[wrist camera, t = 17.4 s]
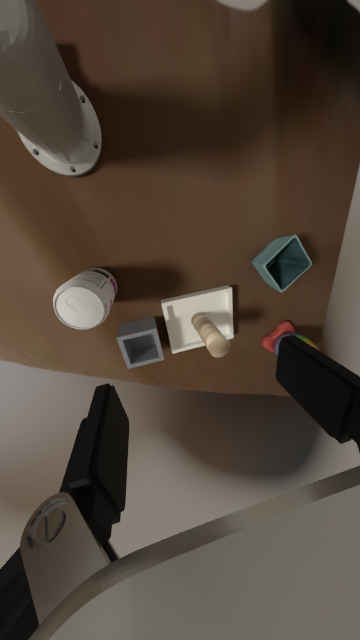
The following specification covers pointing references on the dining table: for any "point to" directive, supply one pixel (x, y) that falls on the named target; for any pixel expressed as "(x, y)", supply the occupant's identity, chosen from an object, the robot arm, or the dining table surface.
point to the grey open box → (140, 342)
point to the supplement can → (85, 298)
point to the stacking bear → (282, 331)
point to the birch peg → (210, 335)
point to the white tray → (185, 306)
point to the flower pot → (282, 262)
